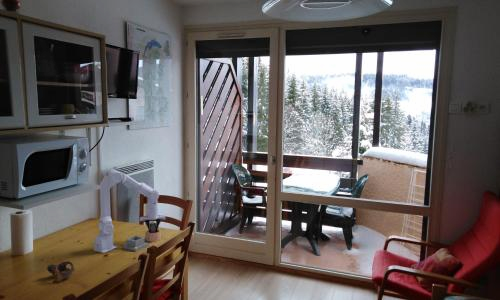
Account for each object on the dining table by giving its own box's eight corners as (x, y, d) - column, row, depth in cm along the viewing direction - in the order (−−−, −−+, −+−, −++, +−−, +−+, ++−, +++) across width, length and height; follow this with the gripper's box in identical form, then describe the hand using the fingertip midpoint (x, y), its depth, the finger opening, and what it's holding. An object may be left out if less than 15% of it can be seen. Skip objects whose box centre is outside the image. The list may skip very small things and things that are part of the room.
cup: (153, 242, 214) (153, 234, 213) (142, 240, 218) (142, 232, 217) (163, 238, 221) (163, 230, 221) (152, 235, 225) (152, 227, 225)
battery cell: (153, 237, 217) (153, 223, 216) (148, 236, 218) (148, 222, 218) (157, 235, 220) (157, 222, 219) (152, 234, 222) (152, 221, 221)
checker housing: (135, 251, 200) (135, 242, 200) (122, 248, 205) (122, 239, 205) (148, 245, 209) (148, 237, 209) (135, 242, 214) (135, 234, 213)
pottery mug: (76, 271, 177) (78, 260, 173) (69, 288, 169) (71, 277, 165) (49, 267, 174) (50, 255, 170) (41, 284, 166) (42, 272, 162)
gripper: (164, 206, 223) (164, 228, 225) (139, 208, 219) (140, 230, 221) (165, 210, 217) (165, 232, 218) (139, 211, 212) (140, 234, 214)
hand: (153, 231), depth 219 cm, fingers closed on battery cell, 4 cm apart
